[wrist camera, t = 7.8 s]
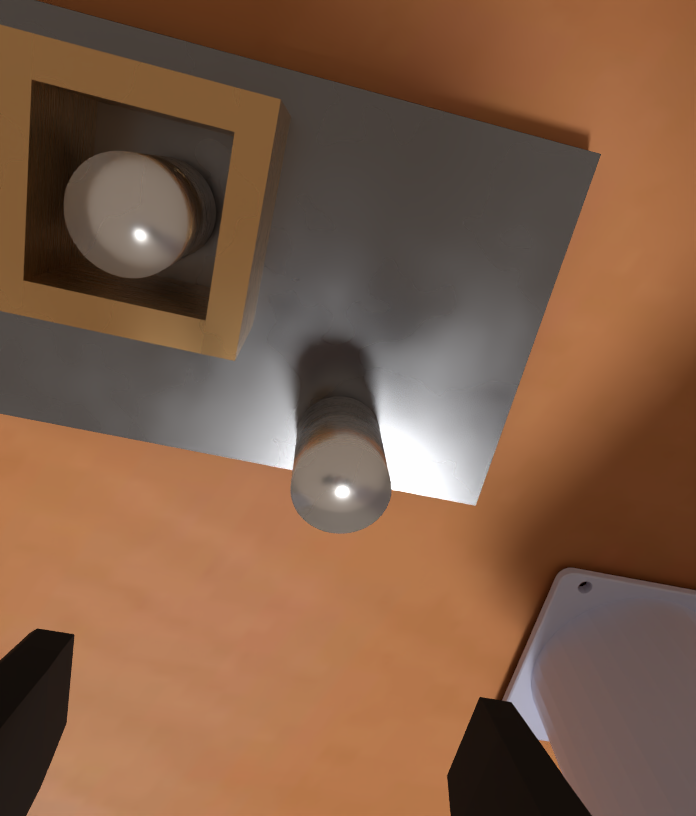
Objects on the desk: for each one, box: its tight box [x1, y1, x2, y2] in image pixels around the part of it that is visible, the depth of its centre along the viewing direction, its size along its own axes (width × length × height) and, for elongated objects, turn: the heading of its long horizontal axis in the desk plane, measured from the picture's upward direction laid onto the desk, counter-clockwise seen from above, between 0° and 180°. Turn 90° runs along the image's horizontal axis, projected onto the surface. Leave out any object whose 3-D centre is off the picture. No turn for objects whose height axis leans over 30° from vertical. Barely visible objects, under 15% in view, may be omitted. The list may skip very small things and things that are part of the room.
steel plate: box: [0, 0, 601, 505], centre depth 17 cm, size 16×11×1 cm
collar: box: [0, 25, 291, 361], centre depth 14 cm, size 6×6×4 cm
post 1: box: [64, 151, 216, 278], centre depth 14 cm, size 3×3×4 cm
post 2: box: [291, 396, 391, 533], centre depth 17 cm, size 3×3×4 cm
